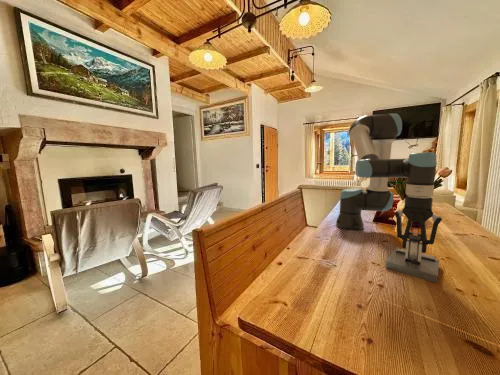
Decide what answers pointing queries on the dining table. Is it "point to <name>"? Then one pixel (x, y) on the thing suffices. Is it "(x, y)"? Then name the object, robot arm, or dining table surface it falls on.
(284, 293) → the dining table surface
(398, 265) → the grey flat square block
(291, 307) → the dining table surface
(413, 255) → the key
